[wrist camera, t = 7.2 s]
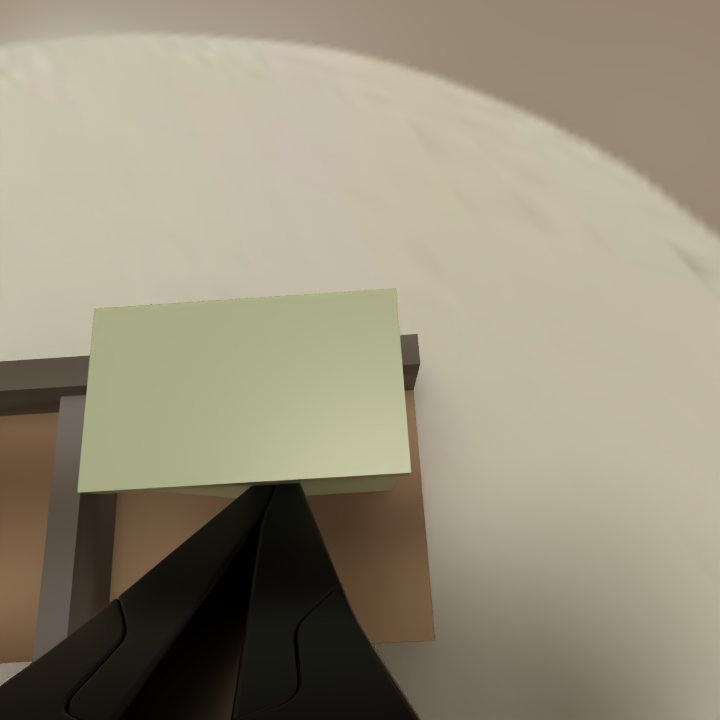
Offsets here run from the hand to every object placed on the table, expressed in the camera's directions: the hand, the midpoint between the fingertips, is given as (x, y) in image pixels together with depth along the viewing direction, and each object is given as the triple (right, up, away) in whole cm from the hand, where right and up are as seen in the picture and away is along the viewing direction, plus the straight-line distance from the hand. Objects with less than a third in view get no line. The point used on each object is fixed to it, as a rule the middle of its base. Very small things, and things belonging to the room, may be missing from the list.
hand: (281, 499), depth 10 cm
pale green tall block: (0, 0, +6) cm, 6 cm away
